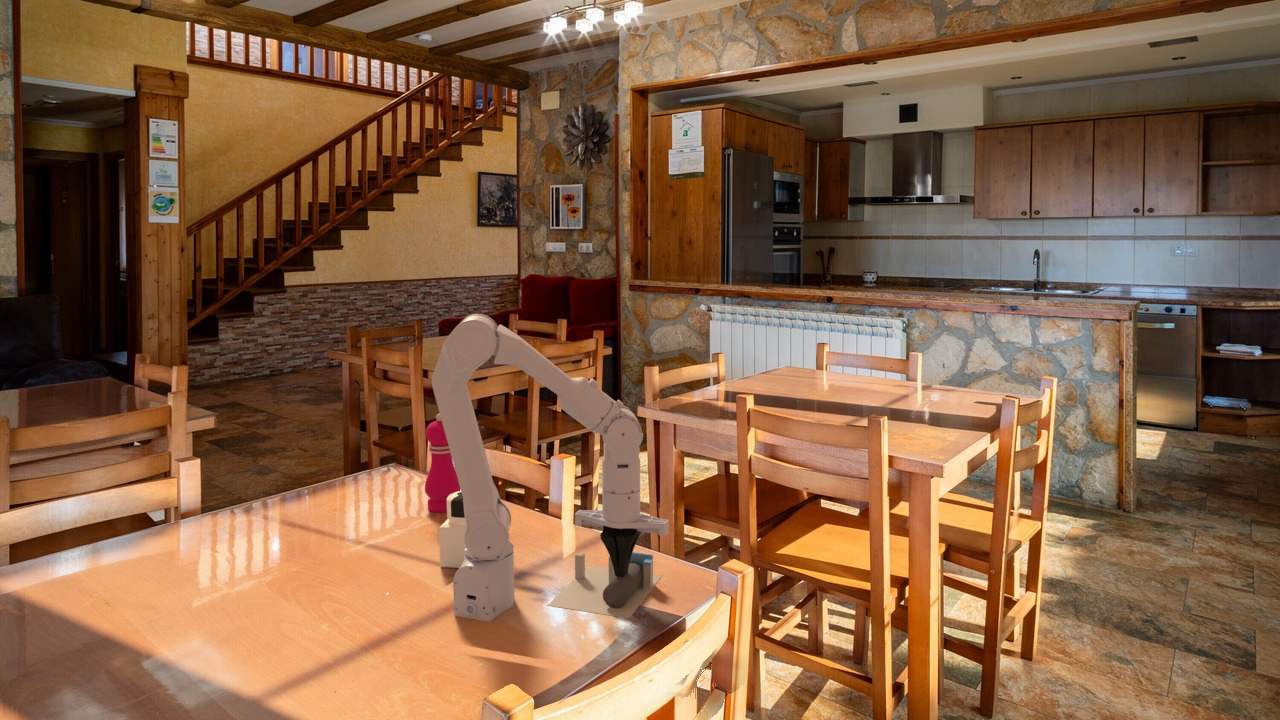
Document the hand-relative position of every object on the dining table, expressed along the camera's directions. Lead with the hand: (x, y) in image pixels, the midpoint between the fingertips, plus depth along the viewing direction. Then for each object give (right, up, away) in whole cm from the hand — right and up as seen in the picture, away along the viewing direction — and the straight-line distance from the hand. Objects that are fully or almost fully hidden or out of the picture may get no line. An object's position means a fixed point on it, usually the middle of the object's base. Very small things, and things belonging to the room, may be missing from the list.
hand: (621, 574), depth 126 cm
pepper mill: (-38, +2, +44) cm, 58 cm away
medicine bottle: (-27, -2, +17) cm, 32 cm away
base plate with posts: (-2, -4, +3) cm, 5 cm away
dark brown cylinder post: (0, -3, +1) cm, 4 cm away
